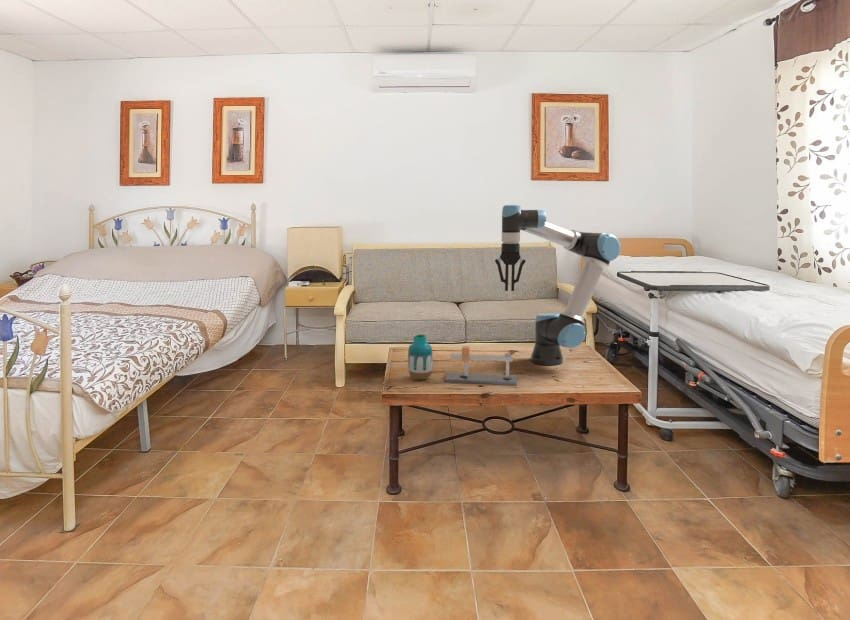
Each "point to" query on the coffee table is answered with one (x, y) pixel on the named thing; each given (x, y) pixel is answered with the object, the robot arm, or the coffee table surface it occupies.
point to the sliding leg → (465, 358)
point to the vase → (420, 358)
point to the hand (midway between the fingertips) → (509, 298)
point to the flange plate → (481, 378)
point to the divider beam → (488, 359)
